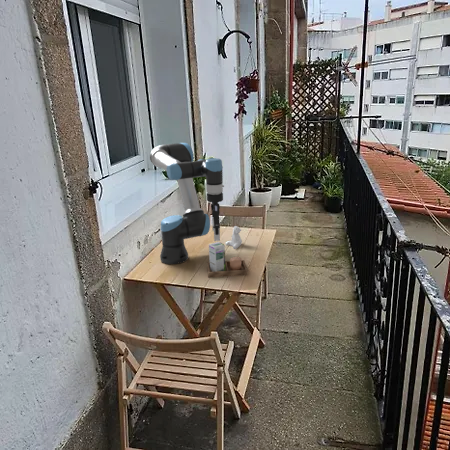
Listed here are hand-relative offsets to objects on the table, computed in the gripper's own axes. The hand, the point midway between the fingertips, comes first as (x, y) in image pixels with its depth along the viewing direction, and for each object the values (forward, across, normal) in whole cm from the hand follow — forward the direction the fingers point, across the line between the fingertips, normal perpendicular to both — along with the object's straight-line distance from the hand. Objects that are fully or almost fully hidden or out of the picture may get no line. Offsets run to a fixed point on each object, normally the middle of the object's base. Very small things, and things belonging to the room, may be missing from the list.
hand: (216, 235), depth 182 cm
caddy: (+20, -1, -5) cm, 21 cm away
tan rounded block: (+19, -1, -9) cm, 21 cm away
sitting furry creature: (+21, +34, -13) cm, 42 cm away
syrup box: (+19, 0, 0) cm, 19 cm away
